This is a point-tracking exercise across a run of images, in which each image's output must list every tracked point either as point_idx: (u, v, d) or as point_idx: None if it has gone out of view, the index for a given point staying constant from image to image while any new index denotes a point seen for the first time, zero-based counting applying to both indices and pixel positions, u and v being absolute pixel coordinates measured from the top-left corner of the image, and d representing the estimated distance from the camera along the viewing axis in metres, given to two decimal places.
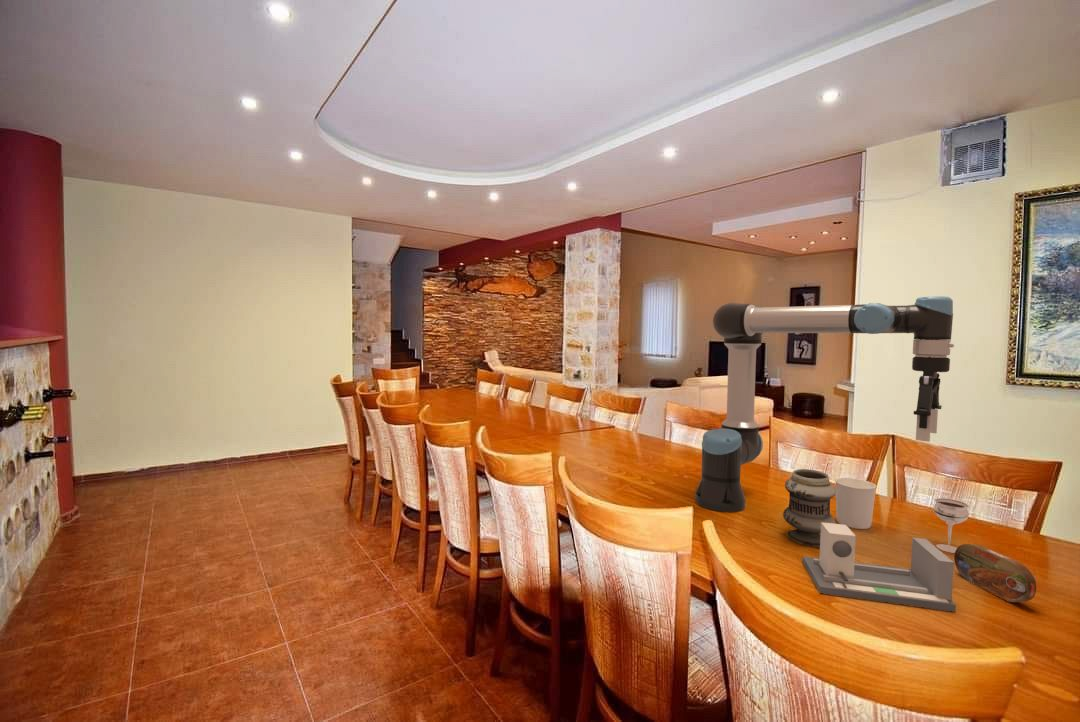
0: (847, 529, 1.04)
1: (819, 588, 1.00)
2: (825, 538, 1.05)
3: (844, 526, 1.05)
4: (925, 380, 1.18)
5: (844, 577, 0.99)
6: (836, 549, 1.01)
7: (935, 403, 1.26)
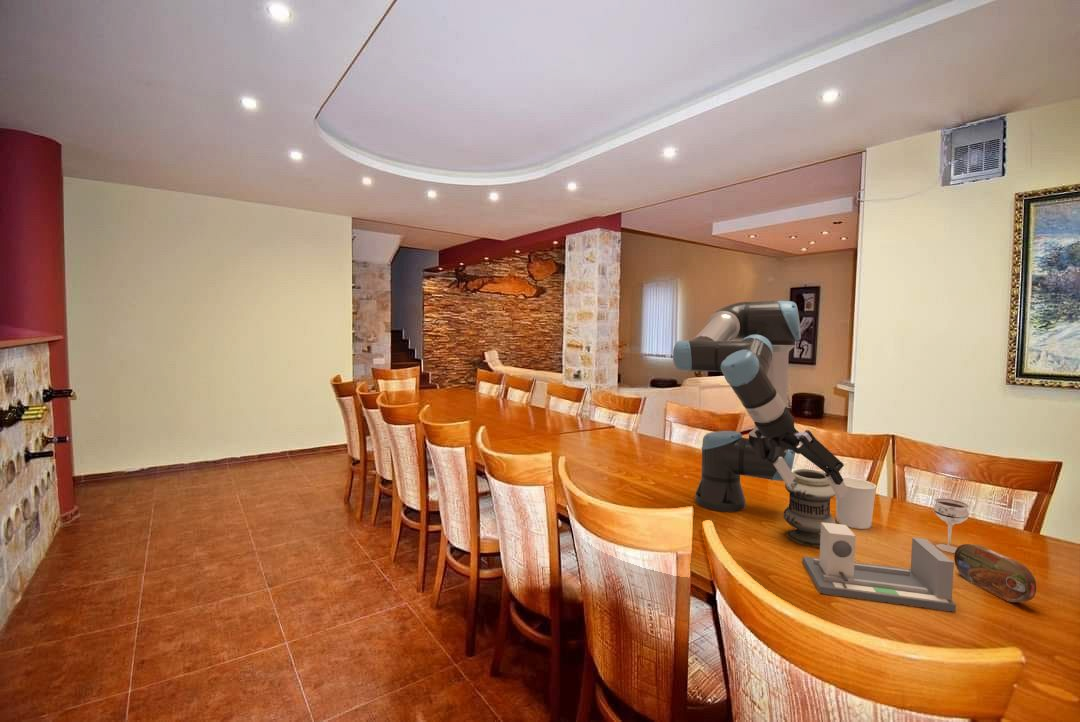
0: (847, 529, 1.04)
1: (819, 588, 1.00)
2: (825, 538, 1.05)
3: (844, 526, 1.05)
4: None
5: (844, 577, 0.99)
6: (836, 549, 1.01)
7: None
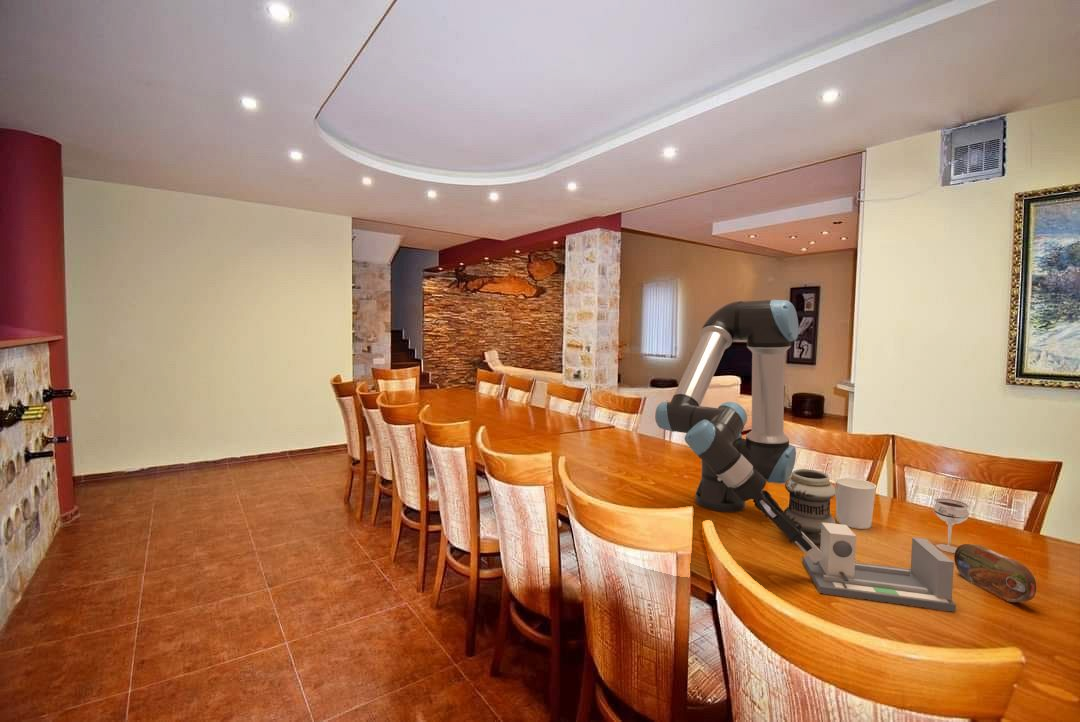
0: (847, 529, 1.04)
1: (819, 588, 1.00)
2: (825, 538, 1.05)
3: (844, 526, 1.05)
4: None
5: (844, 577, 0.99)
6: (836, 549, 1.01)
7: None
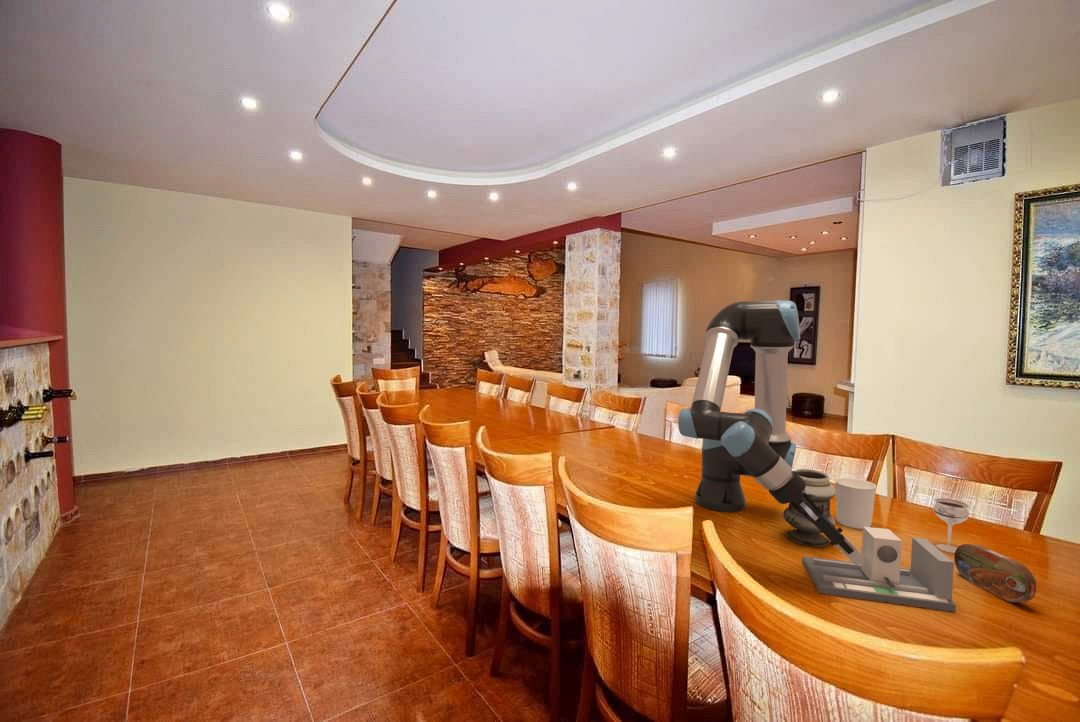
0: (891, 533, 1.02)
1: (819, 588, 1.00)
2: (868, 543, 1.02)
3: (887, 530, 1.03)
4: None
5: (890, 583, 0.97)
6: (881, 554, 0.99)
7: None
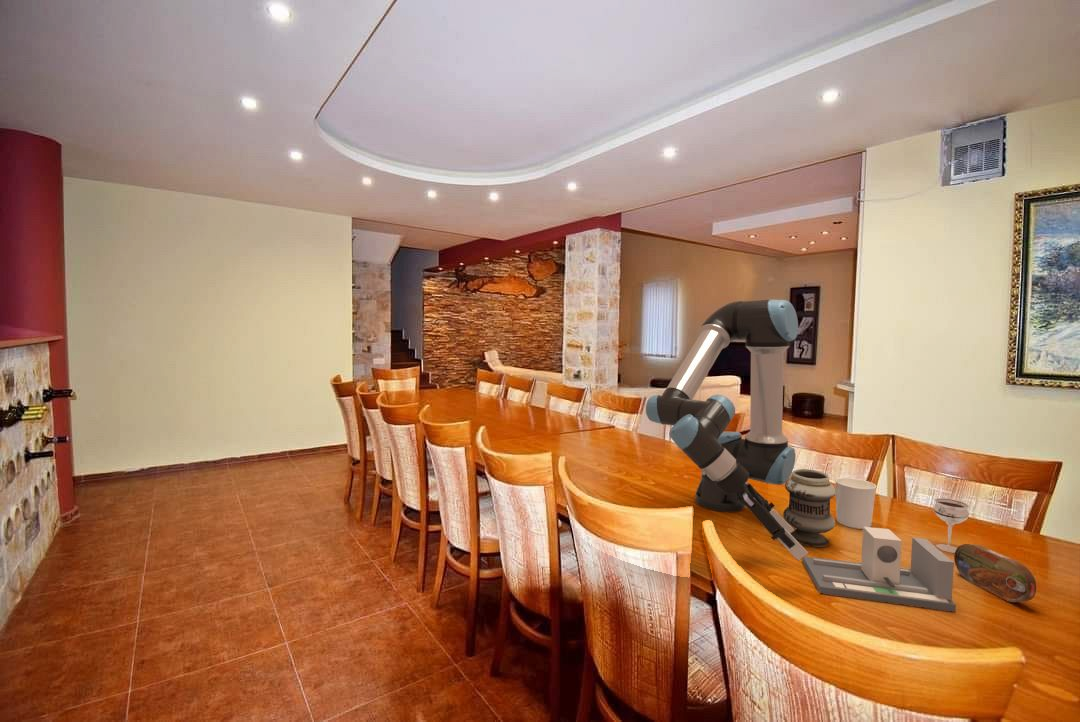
0: (891, 533, 1.02)
1: (819, 588, 1.00)
2: (868, 543, 1.02)
3: (888, 530, 1.03)
4: None
5: (890, 583, 0.97)
6: (881, 554, 0.99)
7: None
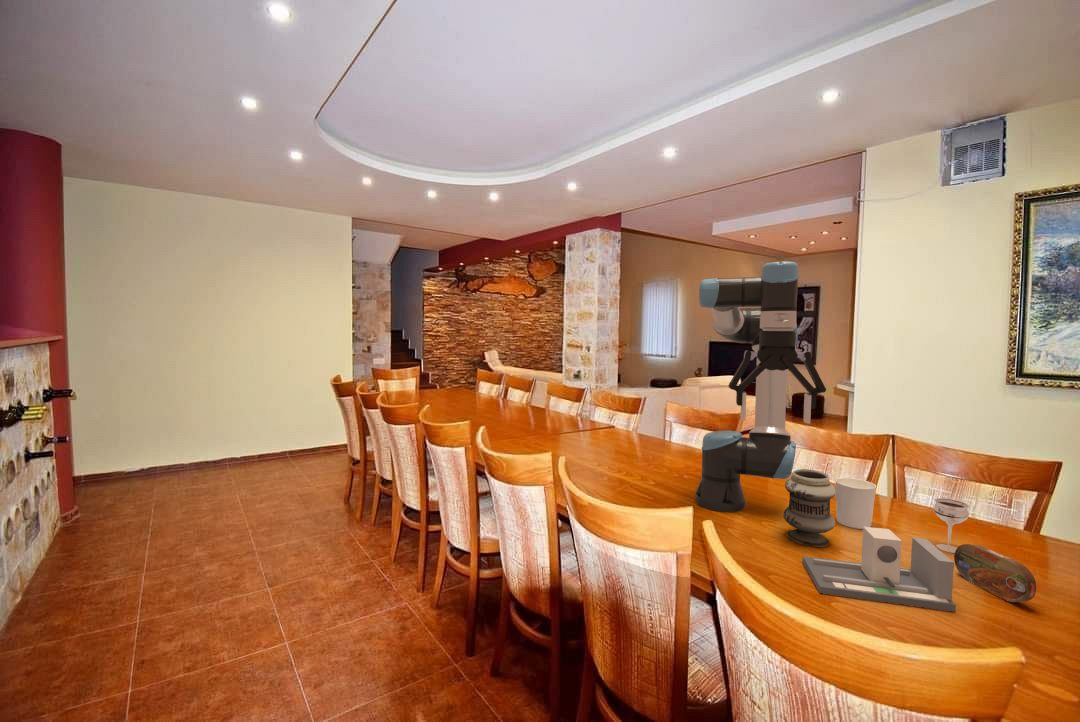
0: (891, 533, 1.02)
1: (819, 588, 1.00)
2: (868, 543, 1.02)
3: (888, 530, 1.03)
4: (744, 354, 1.10)
5: (890, 583, 0.97)
6: (881, 554, 0.99)
7: (805, 387, 1.06)
